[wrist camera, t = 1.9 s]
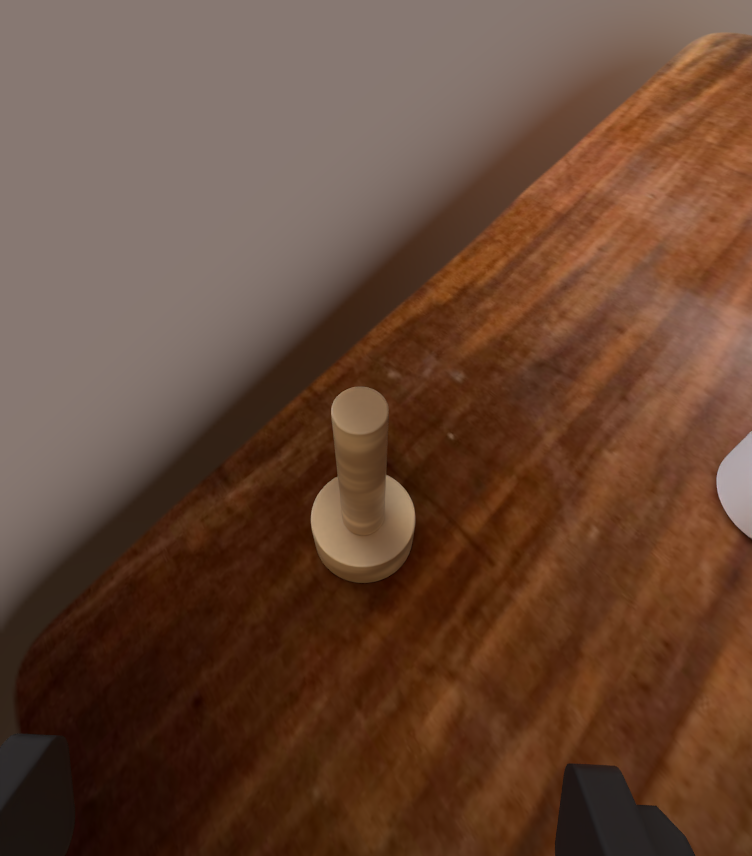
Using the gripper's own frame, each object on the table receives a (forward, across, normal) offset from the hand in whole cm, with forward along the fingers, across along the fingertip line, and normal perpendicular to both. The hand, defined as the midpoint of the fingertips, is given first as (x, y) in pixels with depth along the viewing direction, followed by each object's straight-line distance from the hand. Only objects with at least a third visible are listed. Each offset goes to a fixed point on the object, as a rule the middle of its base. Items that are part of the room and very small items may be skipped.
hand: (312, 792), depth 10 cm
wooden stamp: (+21, 0, +5) cm, 22 cm away
